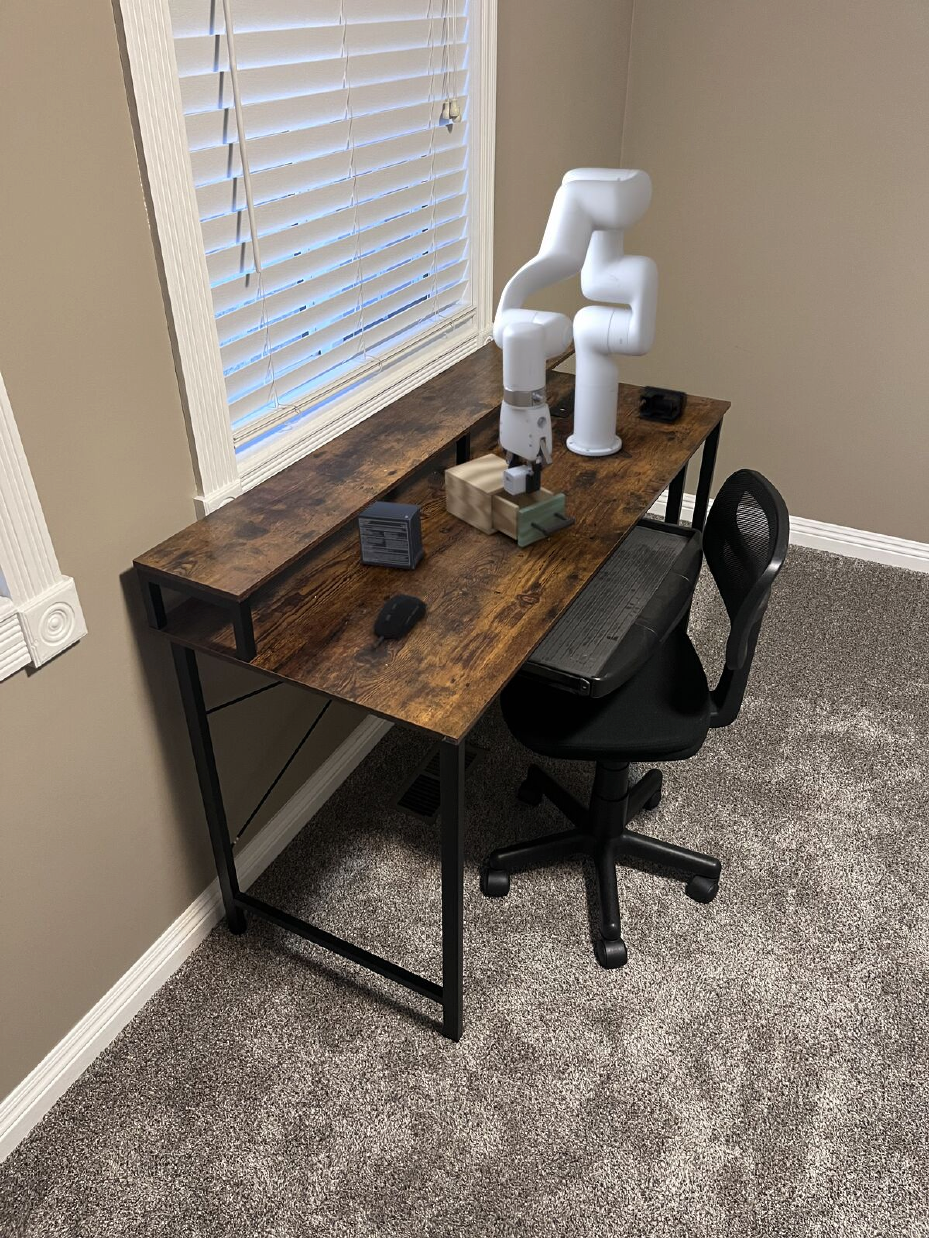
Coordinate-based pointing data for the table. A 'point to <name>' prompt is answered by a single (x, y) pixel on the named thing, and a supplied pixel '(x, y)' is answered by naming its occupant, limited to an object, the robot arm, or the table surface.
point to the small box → (390, 535)
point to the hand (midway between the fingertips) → (524, 486)
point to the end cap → (662, 404)
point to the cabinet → (475, 490)
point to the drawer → (529, 514)
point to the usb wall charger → (515, 479)
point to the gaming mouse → (398, 616)
